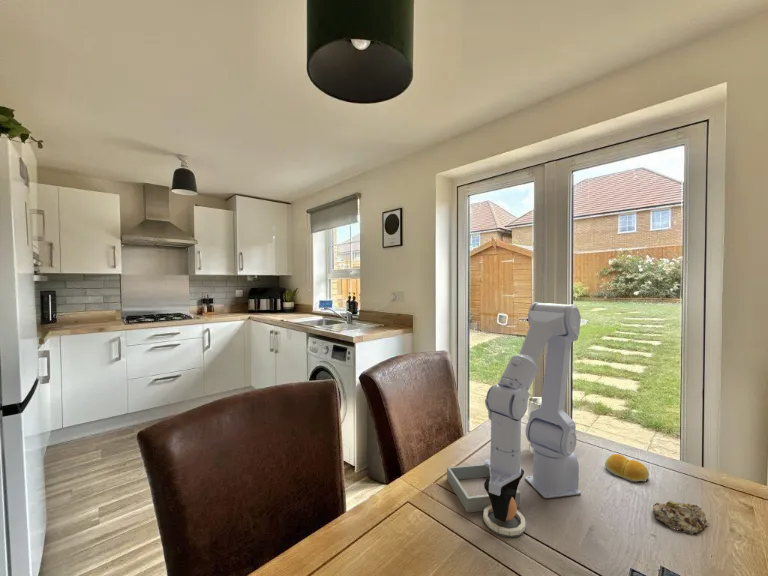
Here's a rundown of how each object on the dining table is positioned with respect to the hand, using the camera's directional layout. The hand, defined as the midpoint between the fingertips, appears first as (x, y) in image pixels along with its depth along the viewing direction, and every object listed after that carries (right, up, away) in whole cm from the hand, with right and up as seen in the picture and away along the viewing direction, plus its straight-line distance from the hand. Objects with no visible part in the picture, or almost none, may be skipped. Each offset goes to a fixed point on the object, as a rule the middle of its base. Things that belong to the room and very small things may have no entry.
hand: (504, 511), depth 70 cm
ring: (0, -2, 0) cm, 2 cm away
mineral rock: (+37, -3, +1) cm, 37 cm away
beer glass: (+20, -2, +28) cm, 35 cm away
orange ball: (0, +1, 0) cm, 1 cm away
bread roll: (+38, -3, +19) cm, 42 cm away
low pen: (-2, -2, +10) cm, 10 cm away
